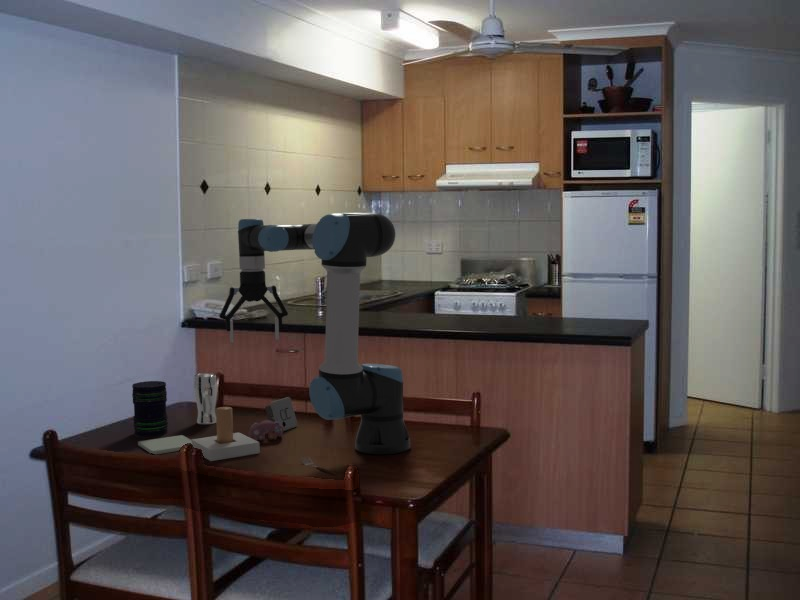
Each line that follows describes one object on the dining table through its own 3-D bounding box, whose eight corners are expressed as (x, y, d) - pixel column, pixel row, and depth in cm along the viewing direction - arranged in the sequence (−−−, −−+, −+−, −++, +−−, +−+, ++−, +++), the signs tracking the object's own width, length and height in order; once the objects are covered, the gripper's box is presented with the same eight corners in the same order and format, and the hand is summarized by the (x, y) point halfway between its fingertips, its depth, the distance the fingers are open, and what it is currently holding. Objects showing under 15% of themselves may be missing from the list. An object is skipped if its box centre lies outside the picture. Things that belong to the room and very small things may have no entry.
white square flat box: (259, 453, 254) (259, 442, 254) (210, 461, 247) (210, 450, 246) (239, 442, 266) (238, 432, 266) (191, 450, 258) (191, 439, 258)
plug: (236, 452, 256) (234, 408, 254) (221, 454, 253) (219, 411, 252) (229, 448, 259) (228, 406, 258) (214, 451, 257) (213, 408, 256)
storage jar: (134, 438, 272) (132, 388, 271) (133, 431, 282) (131, 382, 280) (169, 435, 275) (167, 385, 274) (167, 428, 285) (165, 380, 283)
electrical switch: (280, 433, 277) (276, 402, 276) (266, 433, 279) (262, 402, 279) (298, 426, 285) (295, 396, 284) (284, 426, 287) (281, 396, 287)
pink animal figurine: (249, 446, 268) (250, 427, 264) (247, 436, 271) (248, 417, 268) (284, 443, 270) (285, 425, 267) (281, 433, 274) (282, 414, 270)
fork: (330, 478, 231) (330, 470, 231) (299, 464, 244) (299, 456, 244) (339, 476, 232) (339, 468, 232) (308, 462, 245) (308, 455, 245)
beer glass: (191, 424, 290) (189, 376, 288) (202, 419, 296) (200, 372, 295) (211, 425, 288) (209, 377, 286) (222, 420, 294) (220, 373, 293)
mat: (198, 447, 261) (198, 444, 261) (152, 454, 254) (152, 451, 254) (182, 438, 272) (182, 435, 272) (138, 445, 265) (137, 441, 265)
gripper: (291, 268, 287) (294, 336, 289) (209, 271, 281) (211, 341, 283) (295, 269, 280) (297, 340, 282) (210, 272, 274) (213, 344, 276)
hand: (254, 340), depth 282 cm, fingers open, 13 cm apart
